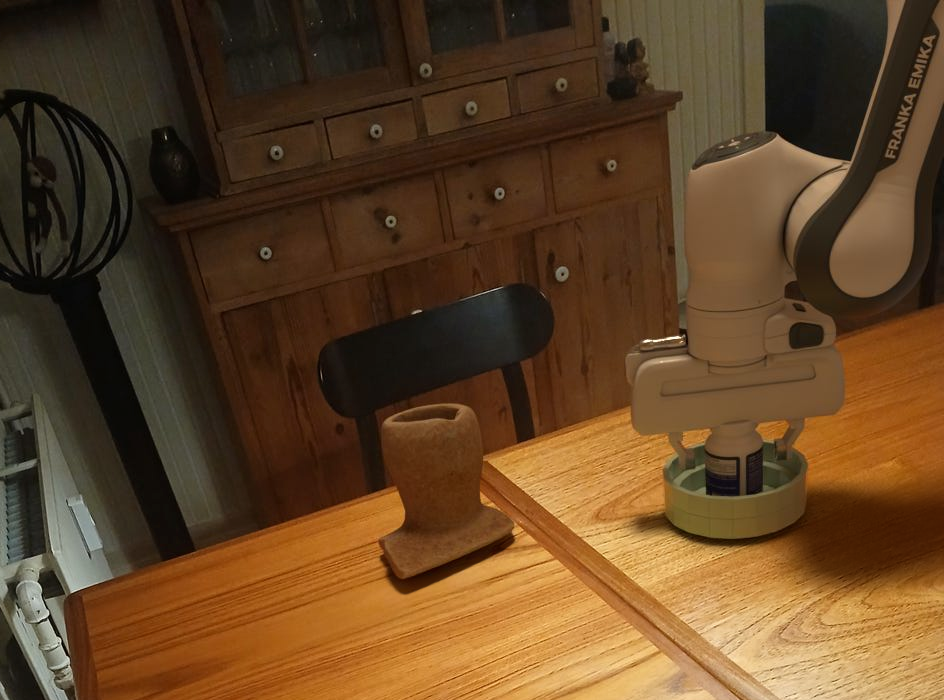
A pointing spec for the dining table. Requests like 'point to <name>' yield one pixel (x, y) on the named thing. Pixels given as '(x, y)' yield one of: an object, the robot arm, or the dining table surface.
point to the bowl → (736, 498)
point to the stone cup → (437, 488)
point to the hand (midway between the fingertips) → (734, 463)
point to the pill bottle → (734, 460)
